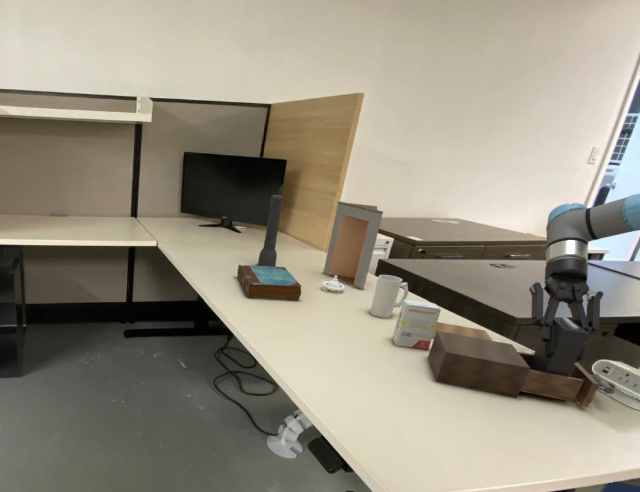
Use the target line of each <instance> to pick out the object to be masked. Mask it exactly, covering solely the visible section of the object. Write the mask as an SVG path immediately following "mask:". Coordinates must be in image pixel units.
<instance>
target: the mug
mask: <svg viewBox="0 0 640 492" xmlns="http://www.w3.org/2000/svg"><path fill="white" fill-rule="evenodd" d="M401 288H402V290H403V296H402V297H401V299H399V301H397V298H398V295H399V292H400V289H401ZM408 295H409V286H408V282H403V278H401V277H398V276H396V275H389V274H379V275H378V278H377V281H376V286H375V289H374V293H373V298H372V302H371V306H370V313H369V314H371V315H372V316H375V317H378V318H383V319H388V318H391V317H392V315H393V311H394V309H395V308H401V306H402V303H403V300H407V297H408Z"/></svg>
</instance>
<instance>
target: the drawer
mask: <svg viewBox="0 0 640 492" xmlns="http://www.w3.org/2000/svg"><path fill="white" fill-rule="evenodd" d="M517 352H518V353H519V354H520V355H521V357H522V358H523V359H524V361H525V362H526V363H527V364H528V366H529V364H530V362H531V360H532V357H533V355H534V353H528V352H523V351H522V352H521V351H517ZM597 391H602V392H604V393H605V394H606V395H612V394H613V393H614V392H615V389H614V388H613V387H612V385H611V384H609V383H608V381H606V380H605V379H604V378H603V377H602V376H601V375H600V374H598V373H593V374H590V373H589V372H588V371H587V370H586V369H585V368H584V367H583V366H582V365H581V364H580V363H579V361H578V362H576V363H575V364H574V366H573V368H572V370H571V372H570V374H569V376H568V377H567V376H562V375H557V374H551V373H546V372H541V371H536V370H529V372H528V374H527V377H526V379H525V381H524V383H523V386H522V388H521V390H520V392H523V393H528V394H532V395H537V396H541V397H547V398H552V399H557V400H562V401H567V402H572V403H573V402H574V401H576V402H577V403H578V404H579V406H581V407H583V408H588V407H589V406H590V404H591V402H592V400H593V399H594V396H595V394H596V393H597Z"/></svg>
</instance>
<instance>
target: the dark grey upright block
mask: <svg viewBox="0 0 640 492" xmlns="http://www.w3.org/2000/svg"><path fill="white" fill-rule="evenodd" d="M551 326H556V346H555V350H556V351H555V354H554V355H552V356H550V357H549V358H547V357H545V342H544V341H542V340H541V338H540V340H539V341H538V344H537V346H536V348H535V351H534V353H533V354H534V355H533V357H532V360H531V362H530V364H529V367H530V370H536V371H541V372H546V373H551V374H557V375H562V376H567V377H568V376H569V374H570V372H571V370H572V368H573V366H574V364H575V362H576V360H577V358H578V356H579V354H580V352H581V350H582V348H583V346H584V344H585V342H586V340H587V337H588V338H589V336H590V335H589V333H588V332H586V331H585V330H584V329H583V328H582V327H580V326H579V325H578V324H577V323H575V322H574V321H573V319H569V318H568V317H565V316H564V317H556V316H555V317H554V320H553V323H552V325H551Z"/></svg>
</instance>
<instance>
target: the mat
mask: <svg viewBox="0 0 640 492" xmlns="http://www.w3.org/2000/svg"><path fill="white" fill-rule="evenodd" d="M437 331H440V332H446V333H452V334H457V335H463V336H468V337H474V338H480V339H485V340H491V341H493V340H492V338H491V337H490V335H489V334H488V332H487V331H486V330H484V329H480V328H474V327H469V326H462V325H456V324H450V323H445V322H440V321H437V324H436V327H435V330H434V333H433V336H432V340H434V338H435V335H436V332H437Z"/></svg>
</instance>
